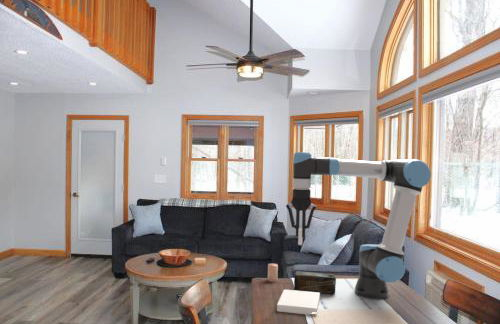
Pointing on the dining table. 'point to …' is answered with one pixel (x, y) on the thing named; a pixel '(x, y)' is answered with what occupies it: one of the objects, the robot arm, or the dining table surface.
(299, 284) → the beverage carton
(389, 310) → the dining table surface
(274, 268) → the peach rounded cylinder
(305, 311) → the white flat slab
